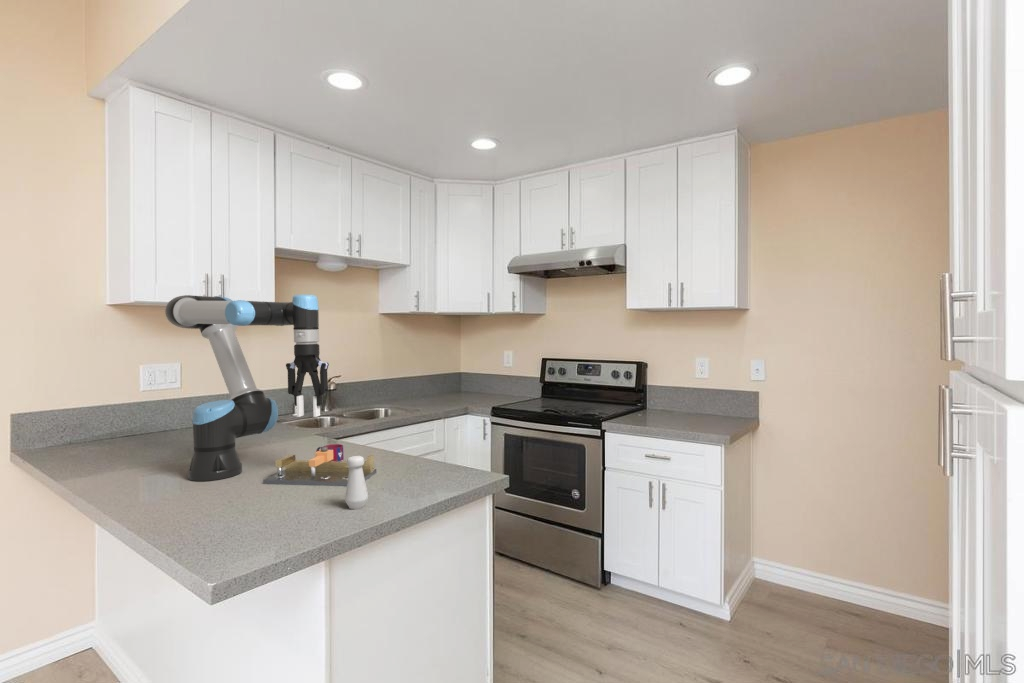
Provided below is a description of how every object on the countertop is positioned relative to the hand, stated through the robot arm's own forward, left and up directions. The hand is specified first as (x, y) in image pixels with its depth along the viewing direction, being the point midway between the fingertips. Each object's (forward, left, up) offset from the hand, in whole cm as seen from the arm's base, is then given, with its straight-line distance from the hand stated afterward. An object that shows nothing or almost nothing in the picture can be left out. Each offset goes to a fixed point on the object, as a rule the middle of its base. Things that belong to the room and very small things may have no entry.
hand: (308, 415), depth 164 cm
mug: (+1, +10, -19) cm, 22 cm away
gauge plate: (+6, -4, -19) cm, 20 cm away
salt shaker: (+29, -27, -19) cm, 44 cm away
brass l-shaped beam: (+7, -3, -18) cm, 19 cm away
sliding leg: (+5, -3, -17) cm, 18 cm away
